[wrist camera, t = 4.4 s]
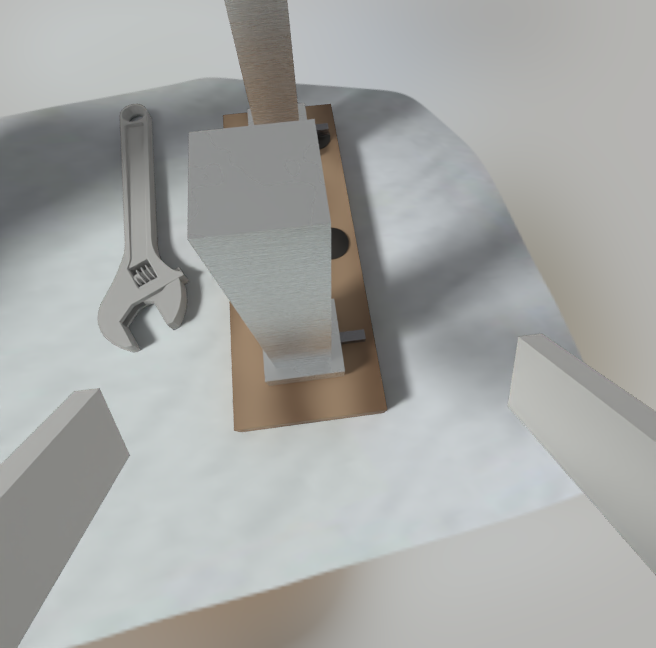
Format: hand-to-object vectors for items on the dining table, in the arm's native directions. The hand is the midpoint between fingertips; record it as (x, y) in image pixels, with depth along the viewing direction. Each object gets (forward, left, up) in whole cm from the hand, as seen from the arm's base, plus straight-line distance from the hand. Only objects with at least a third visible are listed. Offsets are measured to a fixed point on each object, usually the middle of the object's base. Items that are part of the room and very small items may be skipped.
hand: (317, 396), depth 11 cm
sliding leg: (0, +5, -11) cm, 13 cm away
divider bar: (-1, +14, -14) cm, 20 cm away
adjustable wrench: (-13, +20, -14) cm, 28 cm away
